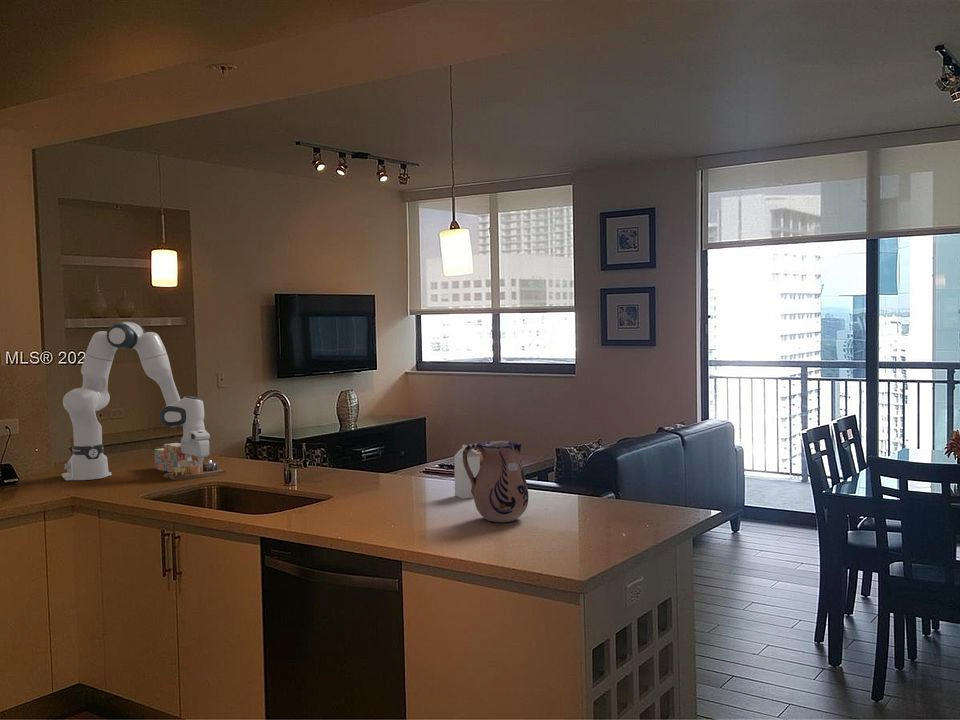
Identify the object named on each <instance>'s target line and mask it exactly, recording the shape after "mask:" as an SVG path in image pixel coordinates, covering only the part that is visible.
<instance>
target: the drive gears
mask: <svg viewBox="0 0 960 720" xmlns="http://www.w3.org/2000/svg"><path fill="white" fill-rule="evenodd" d="M171 468H172V475H184V474H187V466H181V463H179V464H177V466H175V467H171ZM202 469H203V471H215V470H218V469H219V468H218V462H214V461H213V460H212V459H208V462H205V463H202Z"/></svg>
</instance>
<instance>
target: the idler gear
mask: <svg viewBox="0 0 960 720" xmlns="http://www.w3.org/2000/svg"><path fill="white" fill-rule="evenodd" d="M202 469H203V466H202V467H197V466H193V464H192V465H187V473H200V472H202Z"/></svg>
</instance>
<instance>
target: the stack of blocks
mask: <svg viewBox="0 0 960 720" xmlns="http://www.w3.org/2000/svg"><path fill="white" fill-rule="evenodd" d="M153 454H154V455H153V456H154V469H155V470H158V471H162V472H166V471H167V473H171V472H172V468H171V467H175V466H177V464H179V463H181V466H187V465H188V464H187V459H186V454H183V453H181V442H172V443H164V444H163V447H161V448H153Z"/></svg>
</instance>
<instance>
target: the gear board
mask: <svg viewBox="0 0 960 720" xmlns="http://www.w3.org/2000/svg"><path fill="white" fill-rule="evenodd" d="M192 461H193V462H192V463H193V466H197V463H198V461H197V460H192ZM222 473H225V474H226V470H223V469H219V468H218V470H215V471H203V468H202V472H200V473H187V474H184V475H172V473H171V472H167V473H164V475H163V478H167V479H169V480H173V481H183V480H191V479H199V477H200V478H206V477H205V476H207V477H212V476H211V475H215V476H218V475H217V474H222ZM222 475H223V474H222Z"/></svg>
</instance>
